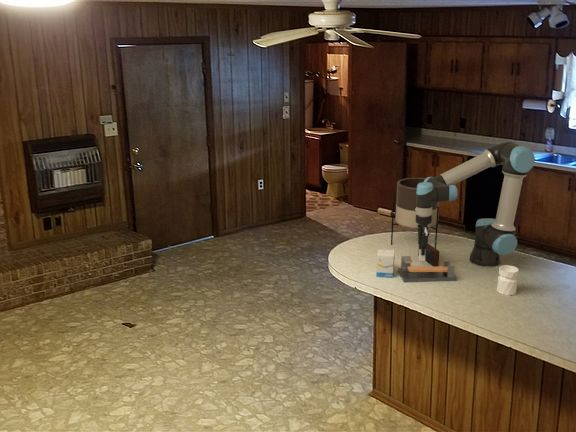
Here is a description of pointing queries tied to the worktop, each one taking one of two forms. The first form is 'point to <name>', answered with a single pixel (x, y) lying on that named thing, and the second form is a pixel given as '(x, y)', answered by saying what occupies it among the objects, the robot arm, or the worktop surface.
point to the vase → (507, 279)
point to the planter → (411, 205)
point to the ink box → (385, 263)
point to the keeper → (405, 262)
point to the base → (429, 275)
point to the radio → (432, 255)
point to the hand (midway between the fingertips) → (421, 260)
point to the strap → (426, 269)
